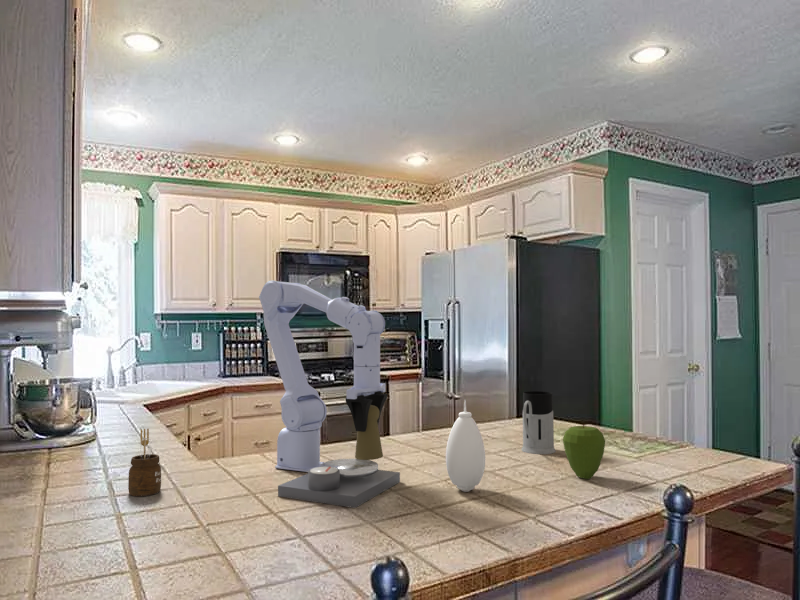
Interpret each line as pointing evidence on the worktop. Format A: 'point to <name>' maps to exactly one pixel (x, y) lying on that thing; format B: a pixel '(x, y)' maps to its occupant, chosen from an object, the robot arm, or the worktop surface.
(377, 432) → the pepper mill
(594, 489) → the worktop surface
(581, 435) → the apple
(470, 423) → the air blower bulb
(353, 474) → the scale pan
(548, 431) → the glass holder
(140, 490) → the utensil holder
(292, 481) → the scale base
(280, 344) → the robot arm
